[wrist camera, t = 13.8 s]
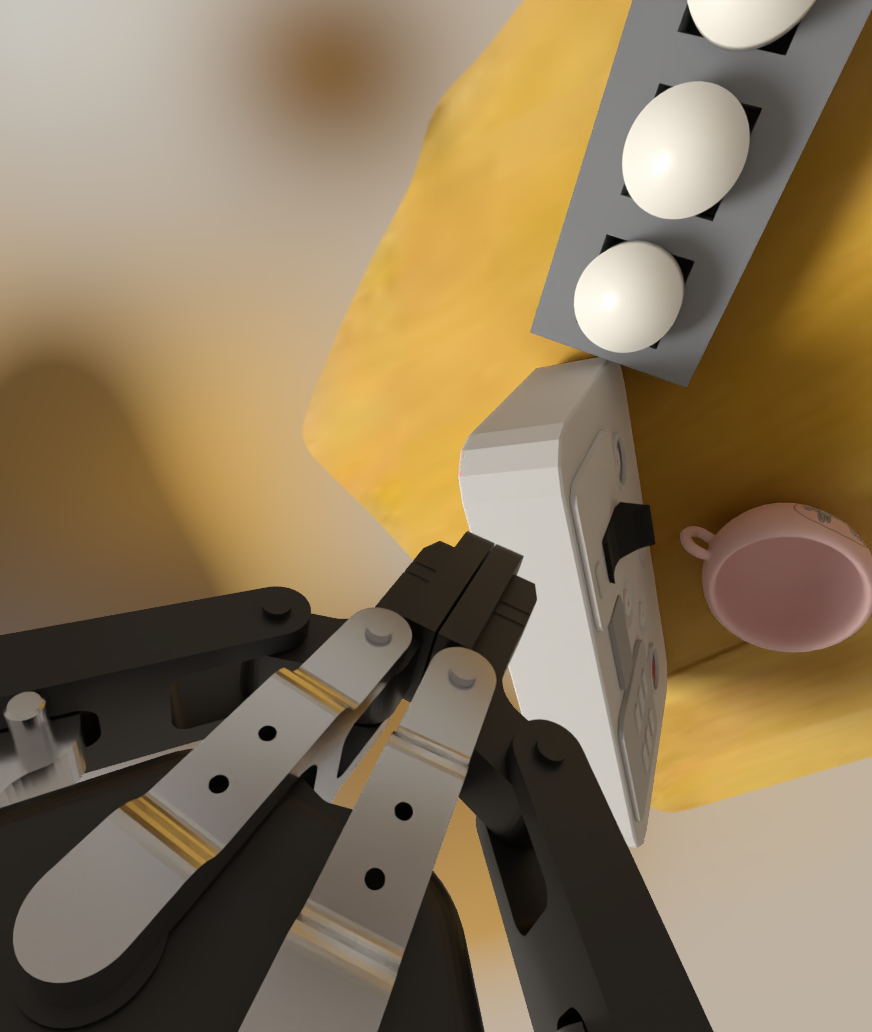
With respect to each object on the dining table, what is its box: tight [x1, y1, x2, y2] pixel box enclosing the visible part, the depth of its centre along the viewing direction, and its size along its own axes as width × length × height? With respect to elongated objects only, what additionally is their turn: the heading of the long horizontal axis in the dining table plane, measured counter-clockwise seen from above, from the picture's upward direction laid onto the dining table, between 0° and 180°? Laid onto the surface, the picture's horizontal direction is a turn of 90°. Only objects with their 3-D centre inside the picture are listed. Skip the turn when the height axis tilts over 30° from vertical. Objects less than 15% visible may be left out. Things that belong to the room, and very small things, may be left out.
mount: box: [530, 0, 872, 388], centre depth 32 cm, size 10×22×5 cm, turn 167°
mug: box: [680, 503, 872, 652], centre depth 41 cm, size 12×10×6 cm
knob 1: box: [574, 240, 684, 353], centre depth 35 cm, size 6×6×6 cm
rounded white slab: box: [458, 357, 667, 848], centre depth 40 cm, size 29×8×18 cm, turn 17°
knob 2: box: [622, 81, 750, 219], centre depth 31 cm, size 6×6×6 cm
